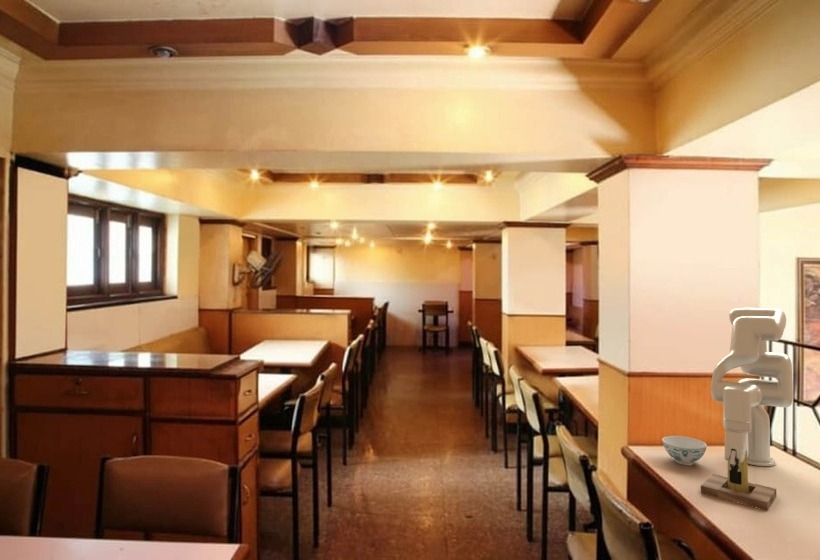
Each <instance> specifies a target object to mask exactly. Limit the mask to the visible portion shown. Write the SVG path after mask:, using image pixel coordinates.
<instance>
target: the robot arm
mask: <svg viewBox="0 0 820 560" xmlns="http://www.w3.org/2000/svg"><path fill="white" fill-rule="evenodd" d="M728 316H729V322H730V323H731V325H732V328H731V336H730V347H729V353H728V354H727V355H726V356H725V357H724V358H722V359H721V360H720V361H719V362H718V363H717V364H716V365H715V367H714V369H713V371H712V377H711V382H710V383H711V385H710V395H711V397H712V399H713V400H714V401H715V402H718V403H722V404H723V405H722V406H723V429H724V430H725V434H724V435H725V438H724V459H725V461H728V460H729V459H730V470H729V473H730V482H731V483H735V484H739V485H741V484H742V472H740V468H741V463H742V462H743V461H744V458H745V454H746V450H747V465H750V466H751V465H752V466H758V467H773V466H775V465H776V460H775V459H774V458H773V457H771V433H770V431H771V429H770V428H771V427H770V425H771V424H770V422H771V421H770V419H771V418H770V415H769V413H768V412H767V411H766V409H765V408H764V407H763V406H769V407H776V408H777V407H778V408H789V407H791V406H792V404H793V400H794V387H793V386H794V384H793V365H792V364H793V363H792V359H791V358H790V356H789V355H787V354H786V353H783V352H772V351H768V349H767V342H768V341H769V342H771V341H772V342H777V341H778V342H779V341H780V340H781V339H782V338H783V335H784V332H785V329H786V325H787V315H786V314H785V312H784V311H783V310H782V309H779V308H778V309H777V308H761V307H758V308H757V307H739V308H738V307H737V308H734V309H731V310H730V311H729V314H728ZM736 368H740V370H741V372H742V373H744V374H745V375H748V376H754V377H764V378H773V379H775V380H768V379H760V378H749V377H748V378H747V377H746V378H742V379H740V380H738V381H731V380H723V377H724V376H725V374H727V373H728V372H730V371H731V370H734V369H736ZM736 460H739V461H738V462H737V461H736ZM736 463H737V464H738V466H737V465H735V464H736Z"/></svg>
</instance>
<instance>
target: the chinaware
mask: <svg viewBox="0 0 820 560" xmlns="http://www.w3.org/2000/svg"><path fill="white" fill-rule="evenodd" d="M661 441H662V444H663V447H664V449H665V451H666V453H667V454H668V455H669V456H670V457H671V458H672V459H673V460H674V462H675V463H677V464H680V465H684V466H693V465H694V464H695V462H698V460H700V459H701V458H703V456H704V454H705V452H706V450H707V446H708V445H707V443H706V442H704V441H703V440H700V439H697V438H693V437H689V436H683V435H669V436H668V435H667V436H664V437H663V438H662V439H661Z"/></svg>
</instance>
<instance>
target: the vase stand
mask: <svg viewBox="0 0 820 560" xmlns="http://www.w3.org/2000/svg"><path fill="white" fill-rule="evenodd" d="M748 485H749V494H745V493H741V492H738V491H734V490H730V489H727V487H728V476H724V475H721V474H720V475H719V474H715V473H712V474H711V475H710V476H709V477H708V478H707V479H706V480H705V481H704V482H703V483H702V484H700V494H702V495H705V496H706V495H707V496H710V497H713V496H714V498H717V497H718V499H721V500H725V499H727V500H726V501H728V500H731V501H730V502H732V501H735V502H734V503H736V502H739V503H738V504H740V503H742V504H741V505H743V504H746V505H745V506H747V505H749V506H748V507H751V506H753V507H752V508H755V507H757V508H756V509H758V508H760V509H759V510H762V509H763V511H766V510H768V511H769V509H770V508H769V507H771V506H772V504H773V503H774V501H775V499H776V498H777V488H775V487H770V486H766V485H761V484H757V483H752V482H749V481H748ZM772 502H773V503H772Z"/></svg>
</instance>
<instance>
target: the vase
mask: <svg viewBox="0 0 820 560" xmlns="http://www.w3.org/2000/svg"><path fill="white" fill-rule="evenodd" d="M736 461H737V462H738V461H739V460H736ZM735 465H737V466H738V464H737V463H736V464H735ZM729 470H730V459H729V460H727V477H728V487H727V489H730V490H734V491H738V492H741V493H745V494H749V495H750V493H749V485H748V482H749V474H748V473H749V471H748V470H749V468H748V464H747V450H746V454H745V458H744V461H743V462H742V463H741V468H740V472H742V484H741V485H739V484H735V483H731V482H730V473H729Z"/></svg>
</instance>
